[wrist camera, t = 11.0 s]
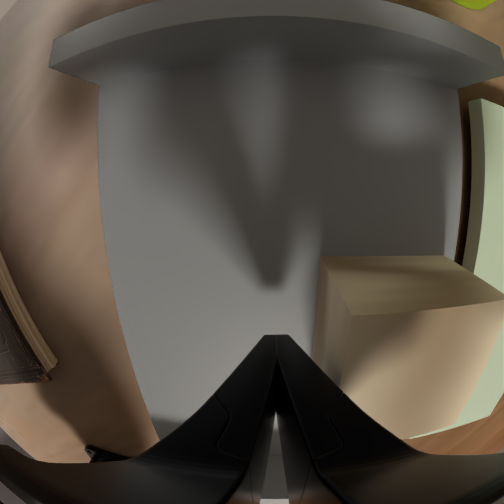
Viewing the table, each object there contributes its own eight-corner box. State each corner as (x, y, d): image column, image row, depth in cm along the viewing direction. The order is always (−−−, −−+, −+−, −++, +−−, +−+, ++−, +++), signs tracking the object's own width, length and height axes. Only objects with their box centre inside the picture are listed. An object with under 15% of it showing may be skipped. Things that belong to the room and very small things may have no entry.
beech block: (309, 373, 11) (321, 452, 7) (320, 256, 9) (352, 315, 5) (416, 362, 10) (453, 424, 6) (443, 255, 9) (510, 298, 5)
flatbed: (171, 436, 15) (153, 490, 10) (119, 72, 9) (53, 39, 5) (379, 435, 14) (396, 488, 9) (435, 75, 8) (499, 47, 4)
